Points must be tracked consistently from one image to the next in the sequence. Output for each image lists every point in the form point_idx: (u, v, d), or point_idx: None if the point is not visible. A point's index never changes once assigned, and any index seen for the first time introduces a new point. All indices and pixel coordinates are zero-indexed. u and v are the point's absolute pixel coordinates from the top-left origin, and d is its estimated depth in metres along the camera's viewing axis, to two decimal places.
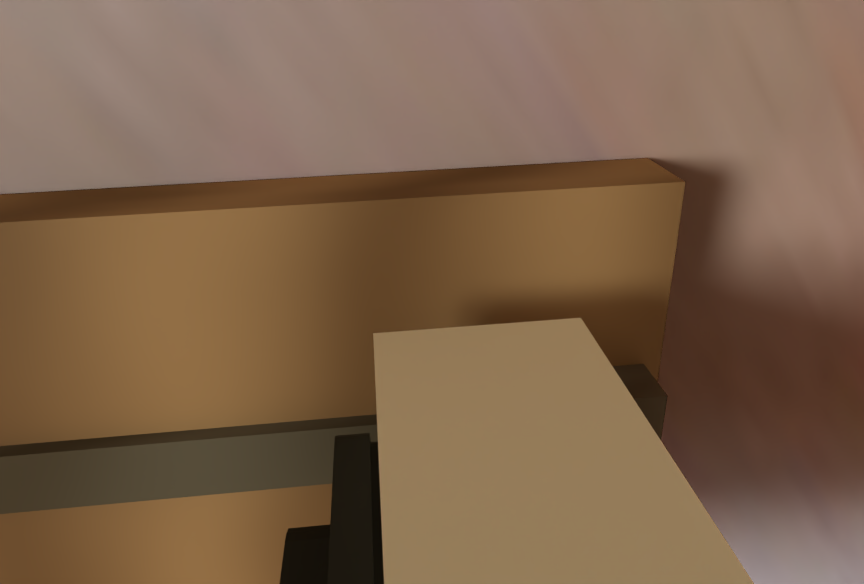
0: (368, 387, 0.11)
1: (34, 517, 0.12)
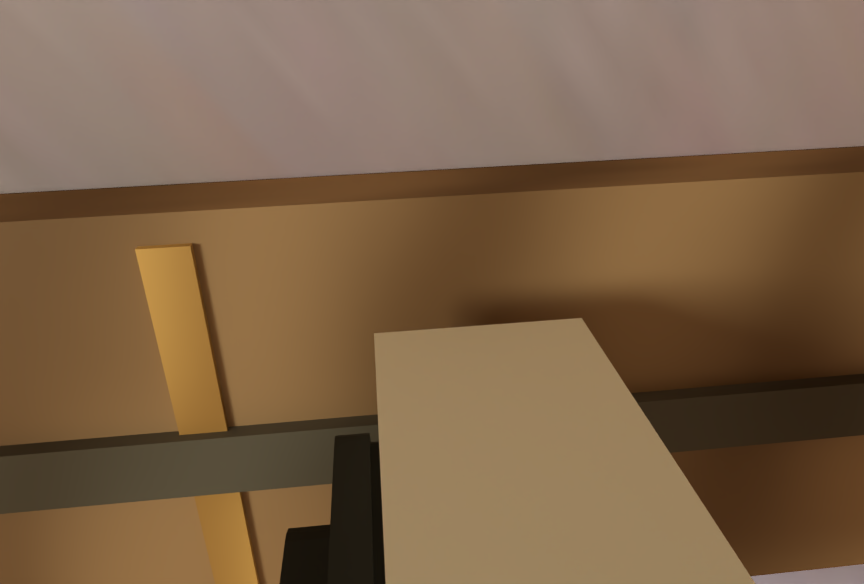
0: (782, 355, 0.12)
1: None
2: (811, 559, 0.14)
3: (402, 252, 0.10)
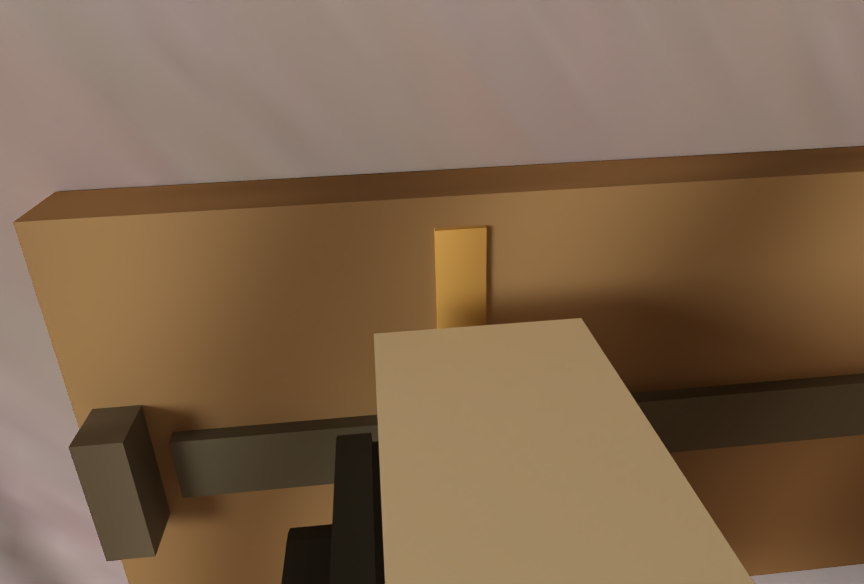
0: None
1: (677, 458, 0.13)
2: None
3: (677, 234, 0.11)
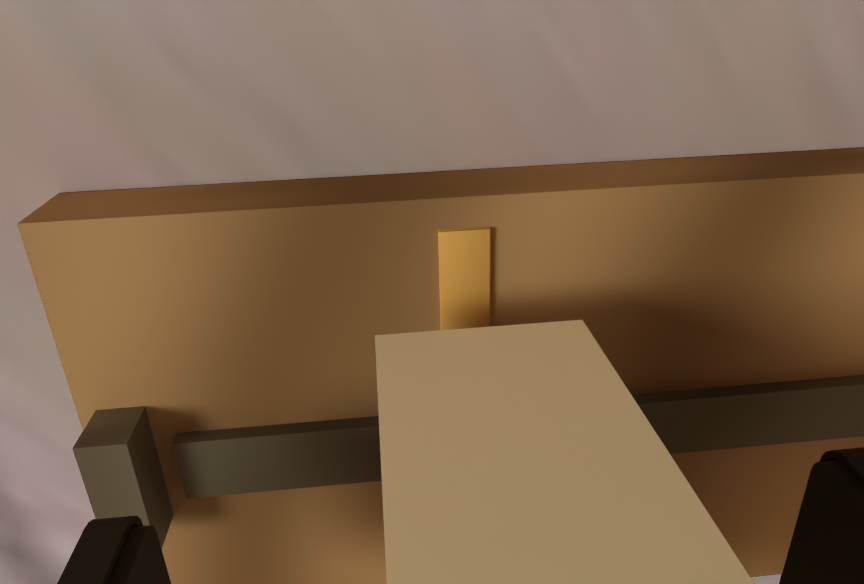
0: None
1: (680, 459, 0.13)
2: None
3: (681, 235, 0.11)
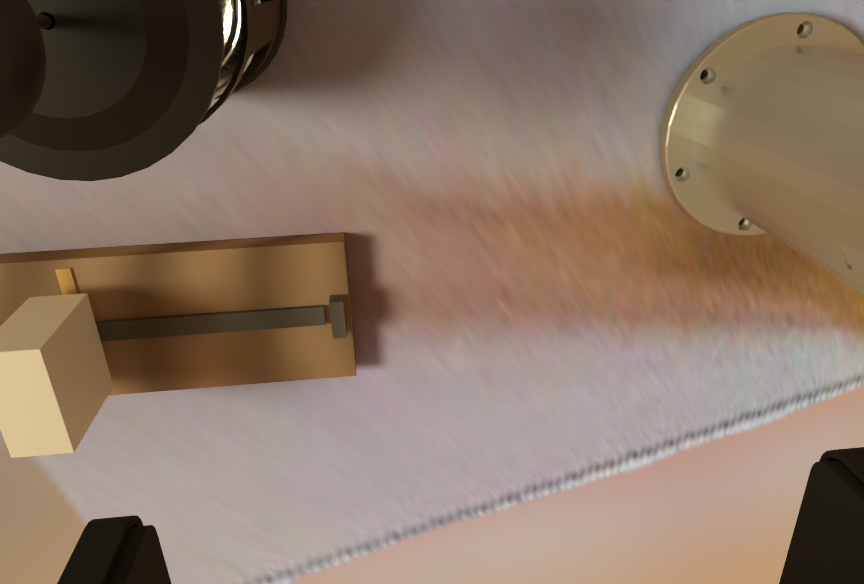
0: (259, 300, 0.39)
1: (159, 340, 0.39)
2: (301, 375, 0.41)
3: (130, 269, 0.37)
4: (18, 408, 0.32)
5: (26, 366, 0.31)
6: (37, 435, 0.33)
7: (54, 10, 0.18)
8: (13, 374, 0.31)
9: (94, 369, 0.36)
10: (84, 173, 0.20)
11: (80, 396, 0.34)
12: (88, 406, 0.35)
